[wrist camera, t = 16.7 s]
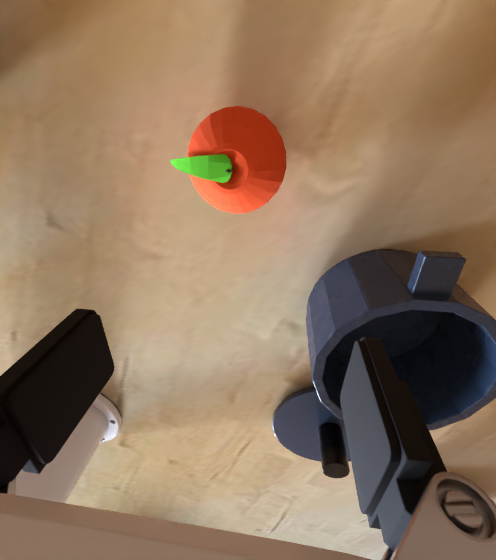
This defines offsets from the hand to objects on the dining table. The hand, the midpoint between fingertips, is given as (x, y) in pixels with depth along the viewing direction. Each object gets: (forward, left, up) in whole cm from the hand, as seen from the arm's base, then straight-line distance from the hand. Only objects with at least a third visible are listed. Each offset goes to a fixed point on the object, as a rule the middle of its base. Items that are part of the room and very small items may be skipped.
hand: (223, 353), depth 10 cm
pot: (+12, -9, -17) cm, 23 cm away
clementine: (-2, +5, -17) cm, 18 cm away
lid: (+10, -27, -17) cm, 33 cm away
